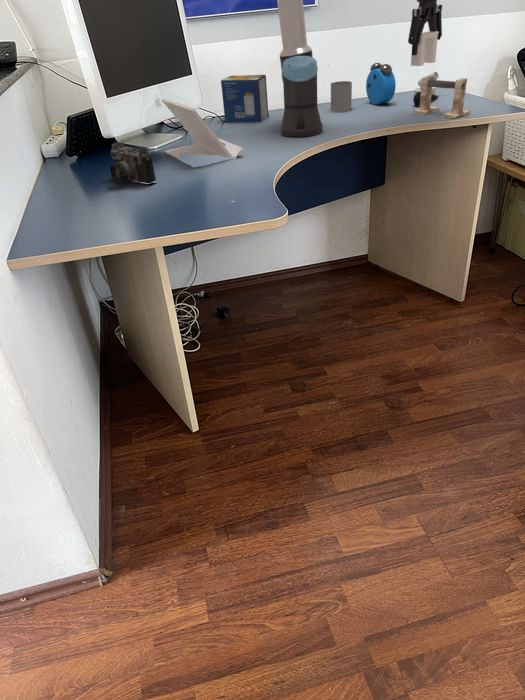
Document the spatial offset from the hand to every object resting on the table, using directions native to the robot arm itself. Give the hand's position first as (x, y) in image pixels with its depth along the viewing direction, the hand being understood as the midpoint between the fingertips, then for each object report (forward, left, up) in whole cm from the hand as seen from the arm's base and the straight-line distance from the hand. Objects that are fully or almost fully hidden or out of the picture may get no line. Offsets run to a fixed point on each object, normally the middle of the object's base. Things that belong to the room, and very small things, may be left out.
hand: (423, 63), depth 188 cm
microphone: (+21, +10, -18) cm, 29 cm away
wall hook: (+32, +19, -18) cm, 41 cm away
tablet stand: (-81, +26, -18) cm, 87 cm away
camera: (-112, +19, -18) cm, 115 cm away
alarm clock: (+10, +26, -18) cm, 33 cm away
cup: (-7, +32, -18) cm, 38 cm away
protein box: (-39, +54, -18) cm, 69 cm away
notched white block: (0, 0, 0) cm, 0 cm away
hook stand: (+6, -6, -17) cm, 19 cm away
